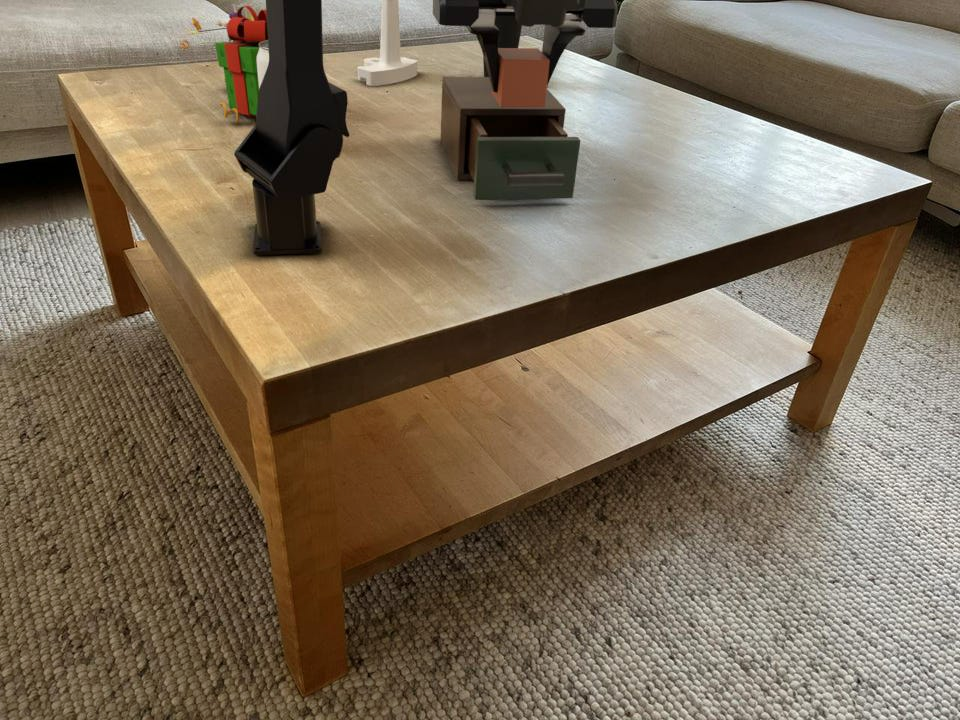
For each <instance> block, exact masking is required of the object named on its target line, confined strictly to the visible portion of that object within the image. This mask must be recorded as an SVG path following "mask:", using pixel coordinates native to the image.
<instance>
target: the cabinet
mask: <svg viewBox="0 0 960 720" xmlns="http://www.w3.org/2000/svg"><path fill="white" fill-rule="evenodd" d="M441 80H442V84H441V111H440V112H441V113H440V115H441V116H440V117H441V118H440V144H441V147H442V149H443V152H444V153H445V156H446V158H447V160H448V163H449V164H450V167H451V169H452V172H453V174H454V177H455V178H456V180H457V181H473V179H472V177H471V175H470V173H469V170H468V168H467V166H466V164H465V142H466V123H467V115H522V116H552V117H553V118H554V119H555V120H556V121H557V122H558V124H559V125H560V126H561V127H562V128H563V129H564V126H565V120H566V110H567V109H566V107H564V106H563V104H561V102H560V101H559V100H558V99H557V98H556V96H554V95H553V94H552V93H551V91H549V89H548V88H547V91H546V102H545V107H504V108H501V107H500V106H499V104H498V103H497V101H496V99H495V98H494V96H493V95H492V86H491V82H490V78H489V77H484V76H442V79H441Z"/></svg>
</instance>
